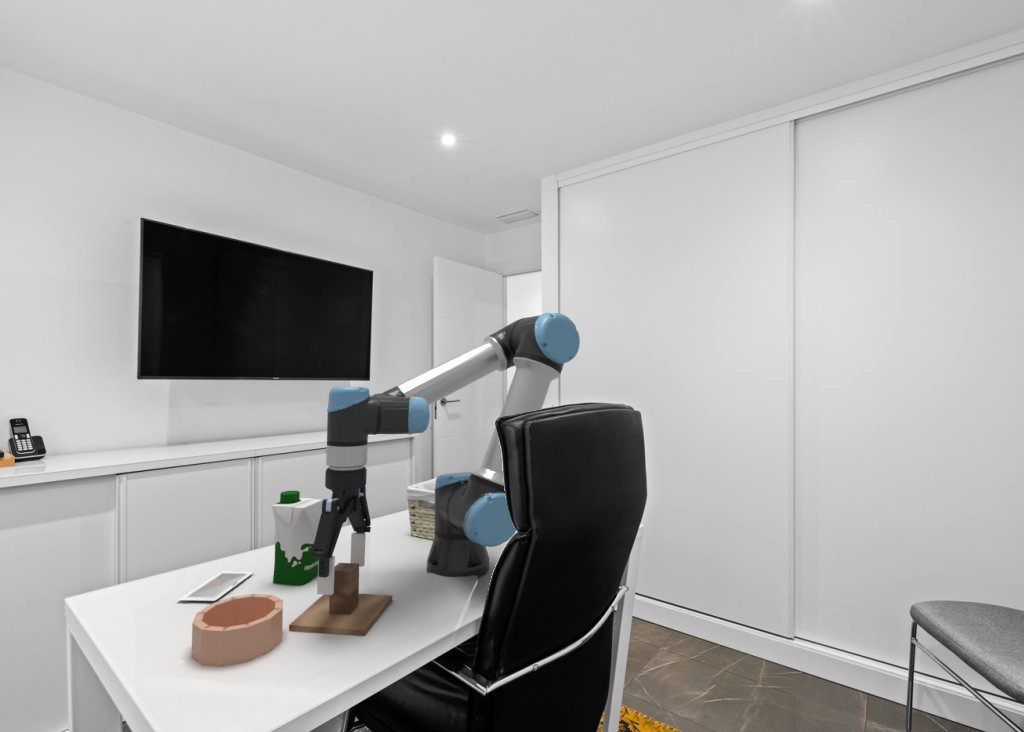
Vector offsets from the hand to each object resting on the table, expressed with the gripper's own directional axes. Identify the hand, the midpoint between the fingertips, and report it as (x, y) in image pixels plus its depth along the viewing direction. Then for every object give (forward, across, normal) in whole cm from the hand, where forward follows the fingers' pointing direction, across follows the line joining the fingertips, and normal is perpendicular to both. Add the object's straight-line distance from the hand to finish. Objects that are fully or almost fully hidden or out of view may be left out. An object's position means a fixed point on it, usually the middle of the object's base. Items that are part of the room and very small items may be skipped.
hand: (342, 578), depth 95 cm
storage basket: (+8, -58, +7) cm, 59 cm away
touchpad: (+9, -10, -33) cm, 36 cm away
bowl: (+8, +12, -13) cm, 19 cm away
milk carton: (+8, -15, -18) cm, 25 cm away
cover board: (+7, 0, 0) cm, 7 cm away
